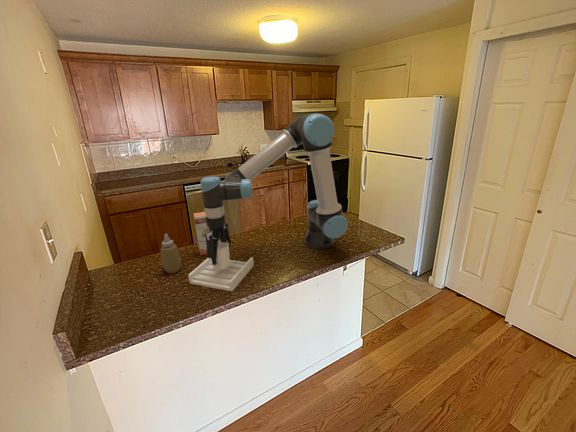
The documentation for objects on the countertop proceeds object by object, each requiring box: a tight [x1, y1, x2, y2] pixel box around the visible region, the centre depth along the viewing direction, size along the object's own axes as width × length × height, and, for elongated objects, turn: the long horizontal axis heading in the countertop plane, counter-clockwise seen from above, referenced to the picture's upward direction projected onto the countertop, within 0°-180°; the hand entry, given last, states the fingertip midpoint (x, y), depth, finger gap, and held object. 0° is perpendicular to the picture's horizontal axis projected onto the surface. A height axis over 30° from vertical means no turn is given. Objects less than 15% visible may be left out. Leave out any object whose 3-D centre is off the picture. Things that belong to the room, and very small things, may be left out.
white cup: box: [217, 241, 231, 270], centre depth 118 cm, size 8×8×10 cm
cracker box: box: [193, 211, 221, 256], centre depth 139 cm, size 14×6×21 cm, turn 111°
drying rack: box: [187, 256, 255, 292], centre depth 121 cm, size 20×20×4 cm
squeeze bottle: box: [160, 233, 182, 274], centre depth 123 cm, size 8×8×18 cm
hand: (222, 265), depth 120 cm, fingers closed on white cup, 7 cm apart
